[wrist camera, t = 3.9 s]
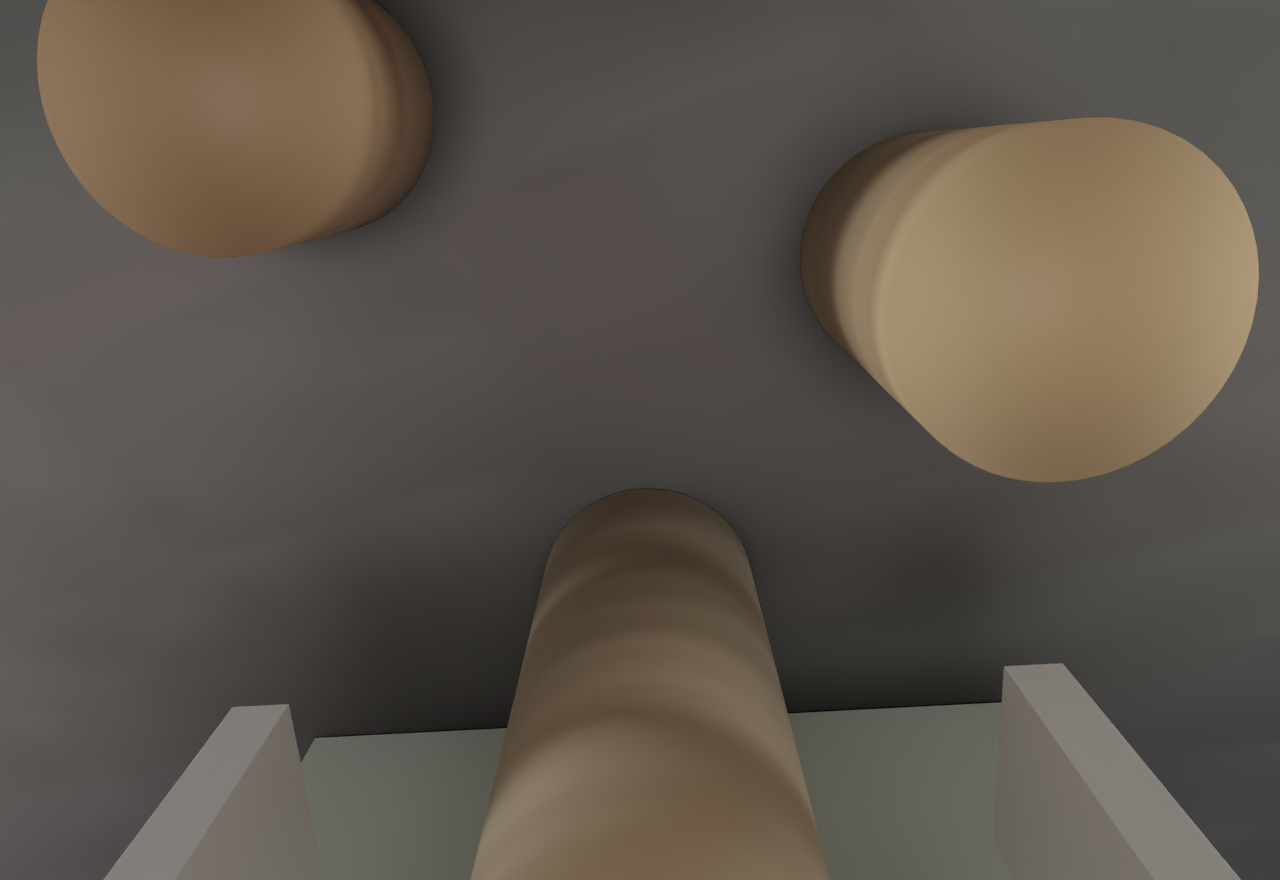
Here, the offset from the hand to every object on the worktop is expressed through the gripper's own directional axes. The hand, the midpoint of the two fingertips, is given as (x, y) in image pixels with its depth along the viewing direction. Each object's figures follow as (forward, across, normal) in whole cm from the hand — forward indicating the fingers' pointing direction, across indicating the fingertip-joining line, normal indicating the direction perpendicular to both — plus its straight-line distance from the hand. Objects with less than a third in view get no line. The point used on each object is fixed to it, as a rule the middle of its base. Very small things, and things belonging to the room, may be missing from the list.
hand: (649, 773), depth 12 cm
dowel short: (+6, -5, +9) cm, 12 cm away
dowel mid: (+6, +5, +6) cm, 10 cm away
